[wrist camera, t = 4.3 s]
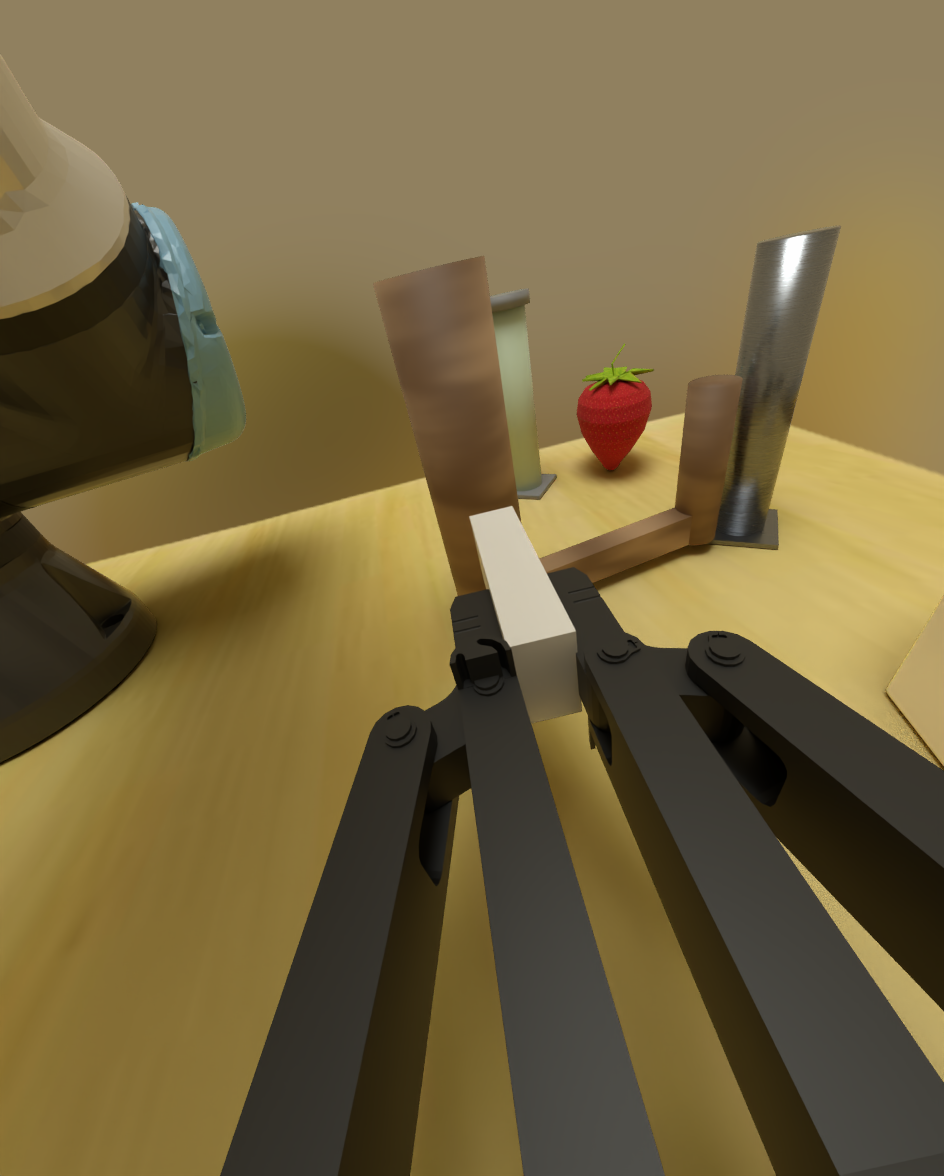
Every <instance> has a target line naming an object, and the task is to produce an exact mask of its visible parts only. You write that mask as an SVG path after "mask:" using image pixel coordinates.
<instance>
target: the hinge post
mask: <svg viewBox="0 0 944 1176" xmlns="http://www.w3.org/2000/svg"><path fill="white" fill-rule="evenodd" d="M840 228H841V226H833V227H825V228H820V229H814V230H809V231H804V232H799V233H795V234H789V235H785V236H780V237H776V238H772V239H768V240H764V241H761V242H758V243H757V248H756V254H755V260H754V266H753V272H752V278H751V284H750V290H749V296H748V302H747V308H746V314H745V320H744V326H743V332H742V338H741V344H740V350H739V356H738V362H737V368H736V374H735V375H736V376H740V377H742V378H743V380H742V386H741V392H740V397H739V403H738V409H737V414H736V420H735V426H734V431H733V437H732V442H731V448H730V454H729V459H728V465H727V471H726V476H725V482H724V487H723V493H722V499H721V504H720V510H719V516H718V521H717V527H716V533H715V538H714V539H713V540H712V541H711V542H709V543H707V544H718V545H730V546H742V547H754V548H765V549H778V545H779V544H778V516H777V510H775V509H769V506H770V503H771V499H772V495H773V491H774V487H775V483H776V479H777V475H778V471H779V467H780V463H781V459H782V456H783V452H784V448H785V444H786V440H787V436H788V432H789V428H790V424H791V420H792V416H793V412H794V408H795V404H796V401H797V396H798V393H799V389H800V385H801V381H802V377H803V373H804V369H805V365H806V361H807V357H808V354H809V349H810V345H811V342H812V337H813V334H814V330H815V326H816V322H817V318H818V314H819V310H820V306H821V303H822V298H823V295H824V290H825V287H826V283H827V279H828V275H829V271H830V267H831V263H832V259H833V255H834V252H835V248H836V244H837V240H838V236H839V232H840Z"/></svg>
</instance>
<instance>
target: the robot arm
mask: <svg viewBox="0 0 944 1176" xmlns="http://www.w3.org/2000/svg"><path fill="white" fill-rule="evenodd" d="M245 422H246V412H245V405H244V400H243V396H242V392H241V389H240V385H239V382H238V378H237V375H236V372H235V369H234V366H233V363H232V360H231V356H230V354H229V351H228V349H227V346H226V343H225V340H224V337H223V335H222V333H221V331H220V329H219V327H218V326H217V325H216V318H215V315H214V313H213V310H212V307H211V304H210V301H209V297H208V295H207V292H206V290H205V287H204V285H203V282H202V280H201V278H200V275H199V273H198V271H197V268H196V266H195V264H194V261H193V259H192V257H191V255H190V253H189V251H188V248H187V246H186V244H185V242H184V240H183V238H182V236H181V235H180V233H179V231H178V229H177V228H176V226H175V224H174V223H173V221H172V220H171V218H170V217H169V216H168V215H167V214H166V213H165V212H163V211H162V210H160V209H158V208H155V207H146V206H144V205H143V204H142V205H138V202H137V203H132V204H130V202H129V200H128V198H127V196H126V194H125V192H124V190H123V188H122V186H121V184H120V183H119V181H118V180H117V178H116V176H115V174H114V173H113V172H112V171H111V169H110V168H109V167H108V166H107V165H106V163H105V162H104V161H103V160H102V159H101V158H100V157H99V156H98V155H97V154H96V153H95V152H93V151H92V150H90V149H89V148H88V147H86V146H85V145H83V144H82V143H80V142H79V141H77V140H75V139H74V138H72V137H71V136H69V135H67V134H66V133H64V132H62V131H61V130H59V129H57V128H56V127H54V126H52V125H50V124H49V123H47V122H45V121H44V120H42V119H41V118H39V117H38V116H37V115H36V113H35V111H34V110H33V108H32V106H31V105H30V103H29V101H28V100H27V98H26V96H25V94H24V93H23V91H22V89H21V88H20V86H19V85H18V83H17V81H16V79H15V78H14V76H13V74H12V72H11V71H10V69H9V67H8V66H7V64H6V63H5V61H4V59H3V57H2V56H1V54H0V762H2V761H4V760H6V759H8V758H10V757H12V756H14V755H16V754H18V753H20V752H22V751H24V750H25V749H27V748H29V747H31V746H33V745H34V744H36V743H38V742H40V741H41V740H43V739H45V738H46V737H48V736H49V735H51V734H53V733H54V732H56V731H57V730H59V729H60V728H62V727H63V726H65V725H66V724H68V723H69V722H71V721H72V720H74V719H75V718H77V717H78V716H79V715H81V714H82V713H83V712H85V711H86V710H87V709H89V708H90V707H91V706H93V705H94V704H95V703H96V702H98V701H99V700H100V699H101V698H103V697H104V696H105V695H106V694H107V693H108V692H110V691H111V690H112V689H113V688H114V687H115V686H116V685H117V684H118V683H119V682H120V681H121V680H122V679H124V678H125V677H126V676H127V674H128V673H129V672H130V671H131V670H132V669H133V668H134V667H135V666H136V665H137V663H138V662H139V661H140V660H141V658H142V657H143V656H144V654H145V653H146V651H147V650H148V648H149V647H150V645H151V643H152V641H153V639H154V636H155V633H156V628H157V623H156V619H155V617H154V616H153V614H152V613H151V612H150V611H149V610H148V609H147V607H146V606H145V605H144V604H143V603H142V602H141V600H140V599H139V598H138V597H137V596H136V595H135V594H133V593H132V592H131V591H129V590H128V589H126V588H124V587H122V586H121V585H119V584H117V583H116V582H114V581H112V580H111V579H109V578H107V577H106V576H104V575H102V574H101V573H99V572H97V571H96V570H94V569H92V568H90V567H89V566H87V565H85V564H84V563H82V562H80V561H79V560H77V559H75V558H74V557H72V556H70V555H69V554H67V553H65V552H64V551H62V550H60V549H59V548H57V547H55V546H54V545H52V544H51V543H50V542H49V541H48V540H47V539H46V538H45V537H44V536H43V535H42V534H41V533H40V532H39V531H38V530H37V529H36V528H35V527H34V526H33V525H32V524H31V523H30V522H29V521H28V519H27V518H26V517H25V516H24V515H23V514H22V513H21V511H23V510H26V509H30V508H34V507H37V506H39V505H43V504H46V503H49V502H52V501H55V500H59V499H62V498H66V497H69V496H72V495H76V494H79V493H82V492H85V491H89V490H92V489H95V488H98V487H102V486H105V485H109V484H112V483H115V482H119V481H122V480H125V479H128V478H132V477H135V476H138V475H141V474H145V473H148V472H151V471H155V470H158V469H161V468H165V467H168V466H171V465H175V464H178V463H181V462H184V461H191V460H194V459H196V458H197V457H198V456H199V455H200V454H202V453H205V452H207V451H210V450H212V449H215V448H218V447H220V446H222V445H225V444H227V443H230V442H232V441H234V440H235V439H237V438H238V437H239V436H240V435H241V433H242V432H243V430H244V427H245ZM469 517H470V522H471V526H472V530H473V535H474V539H475V544H476V548H477V552H478V557H479V561H480V566H481V570H482V574H483V579H484V583H485V586H486V590H482V591H477V592H473V593H469V594H465V595H461V596H457V597H455V599H454V602H453V604H452V606H451V609H450V611H451V619H452V626H453V632H454V640H455V647H456V648H455V650H454V651H453V653H452V654H451V658H450V667H451V670H452V673H453V676H454V679H455V682H456V687H455V688H454V690H453V691H452V693H451V694H450V695H449V696H448V697H447V698H445V699H444V700H442V701H441V702H439V703H438V704H436V705H434V706H432V707H431V708H429V709H427V710H425V711H424V710H422V709H421V708H419V707H416V706H409V705H407V706H402V707H397V708H394V709H393V710H391V711H389V712H387V713H385V714H384V715H383V716H382V717H381V718H380V719H379V720H378V721H377V722H376V723H375V725H374V727H373V729H372V731H371V732H370V735H369V738H368V741H367V744H366V747H365V750H364V753H363V756H362V759H361V762H360V765H359V768H358V771H357V773H356V776H355V779H354V782H353V785H352V788H351V791H350V794H349V797H348V800H347V803H346V806H345V809H344V812H343V815H342V818H341V821H340V824H339V827H338V830H337V832H336V835H335V838H334V841H333V844H332V847H331V850H330V853H329V856H328V859H327V862H326V865H325V868H324V871H323V874H322V877H321V880H320V883H319V886H318V889H317V891H316V894H315V897H314V900H313V903H312V906H311V909H310V912H309V915H308V918H307V921H306V924H305V927H304V930H303V933H302V936H301V939H300V942H299V945H298V948H297V951H296V953H295V956H294V959H293V962H292V965H291V968H290V971H289V974H288V977H287V980H286V983H285V986H284V989H283V992H282V995H281V998H280V1001H279V1004H278V1007H277V1010H276V1012H275V1015H274V1018H273V1021H272V1024H271V1027H270V1030H269V1033H268V1036H267V1039H266V1042H265V1045H264V1048H263V1051H262V1054H261V1057H260V1060H259V1063H258V1066H257V1069H256V1071H255V1074H254V1077H253V1080H252V1083H251V1086H250V1089H249V1092H248V1095H247V1098H246V1101H245V1104H244V1107H243V1110H242V1113H241V1116H240V1119H239V1122H238V1125H237V1128H236V1130H235V1133H234V1136H233V1139H232V1142H231V1145H230V1148H229V1151H228V1154H227V1157H226V1160H225V1163H224V1166H223V1169H222V1172H221V1175H220V1176H410V1170H411V1163H412V1155H413V1147H414V1140H415V1132H416V1124H417V1116H418V1109H419V1101H420V1093H421V1086H422V1078H423V1070H424V1063H425V1055H426V1047H427V1039H428V1032H429V1024H430V1016H431V1009H432V1001H433V993H434V985H435V978H436V970H437V962H438V955H439V947H440V939H441V932H442V924H443V916H444V908H445V901H446V893H447V885H448V878H449V870H450V862H451V854H452V847H453V839H454V831H455V824H456V816H457V808H458V801H459V795H461V794H462V793H464V792H465V791H467V790H469V789H470V788H472V795H473V803H474V810H475V817H476V825H477V832H478V840H479V847H480V854H481V862H482V869H483V877H484V884H485V891H486V899H487V906H488V914H489V921H490V928H491V936H492V943H493V951H494V958H495V965H496V973H497V980H498V988H499V995H500V1002H501V1010H502V1017H503V1025H504V1032H505V1039H506V1047H507V1054H508V1062H509V1069H510V1076H511V1084H512V1091H513V1099H514V1106H515V1113H516V1121H517V1128H518V1136H519V1143H520V1151H521V1158H522V1165H523V1173H524V1176H665V1174H664V1171H663V1167H662V1164H661V1160H660V1157H659V1154H658V1150H657V1147H656V1144H655V1140H654V1137H653V1133H652V1130H651V1127H650V1123H649V1120H648V1117H647V1113H646V1110H645V1106H644V1103H643V1100H642V1096H641V1093H640V1090H639V1086H638V1083H637V1079H636V1076H635V1073H634V1069H633V1066H632V1063H631V1059H630V1056H629V1052H628V1049H627V1046H626V1042H625V1039H624V1036H623V1032H622V1029H621V1025H620V1022H619V1019H618V1015H617V1012H616V1009H615V1005H614V1002H613V998H612V995H611V992H610V988H609V985H608V981H607V978H606V975H605V971H604V968H603V965H602V961H601V958H600V954H599V951H598V948H597V944H596V941H595V938H594V934H593V931H592V927H591V924H590V921H589V917H588V914H587V911H586V907H585V904H584V900H583V897H582V894H581V890H580V887H579V884H578V880H577V877H576V873H575V870H574V867H573V863H572V860H571V857H570V853H569V850H568V846H567V843H566V840H565V836H564V833H563V830H562V826H561V823H560V819H559V816H558V813H557V809H556V806H555V803H554V799H553V796H552V792H551V789H550V786H549V782H548V779H547V776H546V772H545V769H544V765H543V762H542V759H541V755H540V752H539V749H538V745H537V742H536V738H535V735H534V732H533V728H532V725H531V723H535V722H539V721H544V720H548V719H552V718H556V717H560V716H564V715H569V714H573V713H577V712H581V711H582V705H581V700H582V702H583V705H584V707H585V709H586V712H587V714H588V726H589V741H590V747H591V749H595V745H596V747H597V749H598V752H599V754H600V756H601V759H602V761H603V764H604V766H605V768H606V771H607V773H608V775H609V778H610V780H611V783H612V785H613V787H614V790H615V792H616V795H617V797H618V799H619V802H620V804H621V806H622V809H623V811H624V814H625V816H626V818H627V821H628V823H629V825H630V828H631V830H632V833H633V835H634V837H635V840H636V842H637V845H638V847H639V849H640V852H641V854H642V856H643V859H644V861H645V864H646V866H647V868H648V871H649V873H650V875H651V878H652V880H653V883H654V885H655V887H656V890H657V892H658V895H659V897H660V899H661V902H662V904H663V906H664V909H665V911H666V914H667V916H668V918H669V921H670V923H671V925H672V928H673V930H674V933H675V935H676V937H677V940H678V942H679V944H680V947H681V949H682V952H683V954H684V956H685V959H686V961H687V964H688V966H689V968H690V971H691V973H692V975H693V978H694V980H695V983H696V985H697V987H698V990H699V992H700V994H701V997H702V999H703V1002H704V1004H705V1006H706V1009H707V1011H708V1014H709V1016H710V1018H711V1021H712V1023H713V1025H714V1028H715V1030H716V1033H717V1035H718V1037H719V1040H720V1042H721V1044H722V1047H723V1049H724V1052H725V1054H726V1056H727V1059H728V1061H729V1064H730V1066H731V1068H732V1071H733V1073H734V1075H735V1078H736V1080H737V1083H738V1085H739V1087H740V1090H741V1092H742V1094H743V1097H744V1099H745V1102H746V1104H747V1106H748V1109H749V1111H750V1114H751V1116H752V1118H753V1121H754V1123H755V1125H756V1128H757V1130H758V1133H759V1135H760V1137H761V1140H762V1142H763V1144H764V1147H765V1149H766V1152H767V1154H768V1156H769V1159H770V1161H771V1164H772V1166H773V1168H774V1171H775V1173H776V1176H944V1082H943V1081H942V1079H941V1078H940V1077H939V1075H938V1074H937V1072H936V1071H935V1069H934V1068H933V1066H932V1065H931V1063H930V1062H929V1060H928V1059H927V1058H926V1056H925V1055H924V1053H923V1052H922V1050H921V1049H920V1047H919V1046H918V1044H917V1043H916V1041H915V1040H914V1038H913V1037H912V1036H911V1034H910V1033H909V1031H908V1030H907V1028H906V1027H905V1025H904V1024H903V1022H902V1021H901V1019H900V1018H899V1017H898V1015H897V1014H896V1012H895V1011H894V1009H893V1008H892V1006H891V1005H890V1003H889V1002H888V1000H887V999H886V997H885V996H884V995H883V993H882V992H881V990H880V989H879V987H878V986H877V984H876V983H875V981H874V980H873V978H872V977H871V976H870V974H869V973H868V971H867V970H866V968H865V967H864V965H863V964H862V962H861V961H860V959H859V958H858V956H857V955H856V954H855V952H854V951H853V949H852V948H851V946H850V945H849V943H848V942H847V940H846V939H845V937H844V936H843V935H842V933H841V932H840V930H839V929H838V927H837V926H836V924H835V923H834V921H833V920H832V918H831V917H830V916H829V914H828V913H827V911H826V910H825V908H824V907H823V905H822V904H821V902H820V901H819V899H818V898H817V896H816V895H815V894H814V892H813V891H812V889H811V888H810V886H809V885H808V883H807V882H806V880H805V879H804V877H803V876H802V875H801V873H800V872H799V870H798V869H797V867H796V866H795V864H794V863H793V861H792V860H791V858H790V857H789V855H788V854H787V853H786V851H785V850H784V848H783V847H782V845H781V844H780V842H781V843H782V844H783V845H784V846H785V847H786V848H787V849H788V850H789V851H790V852H791V853H792V854H793V855H794V856H795V857H796V858H797V859H798V860H799V861H800V862H801V863H802V864H803V865H804V866H805V867H806V869H807V870H808V871H809V872H810V873H811V874H812V875H813V876H814V877H815V878H816V879H817V880H818V881H819V882H820V883H821V884H822V885H823V886H824V887H825V888H826V889H827V890H828V891H829V892H830V893H831V894H832V895H833V897H834V898H835V899H836V900H837V901H838V902H839V903H840V904H841V905H842V906H843V907H844V908H845V909H846V910H847V911H848V912H849V913H850V914H851V915H852V916H853V917H854V918H855V919H856V920H857V921H858V922H859V924H860V925H861V926H862V927H863V928H864V929H865V930H866V931H867V932H868V933H869V934H870V935H871V936H872V937H873V938H874V939H875V940H876V941H877V942H878V943H879V944H880V945H881V946H882V947H883V948H884V949H885V951H886V952H887V953H888V954H889V955H890V956H891V957H892V958H893V959H894V960H895V961H896V962H897V963H898V964H899V965H900V966H901V967H902V968H903V969H904V970H905V971H906V972H907V973H908V974H909V975H910V976H911V978H912V979H913V980H914V981H915V982H916V983H917V984H918V985H919V986H920V987H921V988H922V989H923V990H924V991H925V992H926V993H927V994H928V995H929V996H930V997H931V998H932V999H933V1000H934V1001H935V1002H936V1003H937V1005H938V1006H939V1007H940V1008H941V1009H942V1010H943V1011H944V771H943V770H942V769H940V768H939V767H937V766H936V765H934V764H933V763H931V762H930V761H928V760H927V759H925V758H924V757H922V756H921V755H919V754H918V753H916V752H915V751H913V750H912V749H910V748H909V747H907V746H906V745H904V744H903V743H901V742H900V741H898V740H897V739H896V738H894V737H893V736H891V735H890V734H888V733H887V732H885V731H884V730H882V729H881V728H879V727H878V726H876V725H875V724H873V723H872V722H870V721H869V720H867V719H866V718H864V717H863V716H861V715H860V714H858V713H857V712H855V711H854V710H852V709H851V708H849V707H848V706H846V705H845V704H843V703H842V702H841V701H839V700H838V699H836V698H835V697H833V696H832V695H830V694H829V693H827V692H826V691H824V690H823V689H821V688H820V687H818V686H817V685H815V684H814V683H812V682H811V681H809V680H808V679H806V678H805V677H803V676H802V675H800V674H799V673H797V672H796V671H794V670H793V669H791V668H790V667H788V666H787V665H786V664H784V663H783V662H781V661H780V660H778V659H777V658H775V657H774V656H772V655H771V654H769V653H768V652H766V651H765V650H763V649H762V648H760V647H759V646H757V645H756V644H754V643H753V642H751V641H750V640H748V639H746V638H744V637H742V636H740V635H738V634H734V633H730V632H725V631H708V632H705V633H701V634H698V635H697V636H695V637H694V638H693V639H691V641H690V643H689V646H688V648H656V647H650V646H646V645H644V644H643V643H642V642H641V641H640V640H639V639H638V638H637V637H634V636H632V635H630V634H628V633H625V632H624V631H623V629H622V628H621V626H620V625H619V623H618V622H617V620H616V619H615V617H614V616H613V614H612V612H611V611H610V609H609V608H608V606H607V605H606V603H605V602H604V600H603V599H602V597H600V594H599V593H598V591H597V590H596V588H595V587H594V585H593V583H592V582H591V580H590V579H589V577H588V576H587V575H586V574H585V573H583V572H581V571H580V570H578V569H576V568H575V567H572V568H567V569H563V570H559V571H555V572H551V573H546V571H545V569H544V567H543V565H542V563H541V561H540V560H539V558H538V556H537V554H536V552H535V550H534V548H533V546H532V544H531V542H530V540H529V538H528V536H527V534H526V532H525V530H524V528H523V526H522V524H521V522H520V520H519V518H518V516H517V514H516V512H515V510H514V508H513V507H512V506H510V507H506V508H501V509H497V510H493V511H489V512H485V513H481V514H477V515H473V516H469ZM776 837H777V838H778V839H779V840H780V842H779V841H778V839H777V838H776Z"/></svg>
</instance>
